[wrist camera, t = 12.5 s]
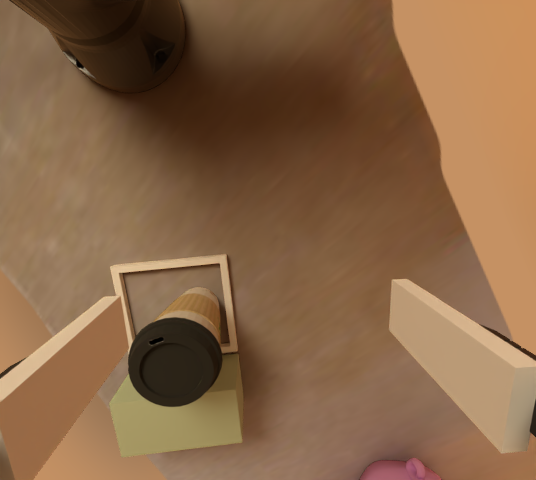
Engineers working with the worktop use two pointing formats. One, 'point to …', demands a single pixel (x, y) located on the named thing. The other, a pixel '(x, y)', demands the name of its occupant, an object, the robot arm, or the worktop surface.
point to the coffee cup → (178, 351)
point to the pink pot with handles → (398, 471)
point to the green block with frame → (188, 416)
